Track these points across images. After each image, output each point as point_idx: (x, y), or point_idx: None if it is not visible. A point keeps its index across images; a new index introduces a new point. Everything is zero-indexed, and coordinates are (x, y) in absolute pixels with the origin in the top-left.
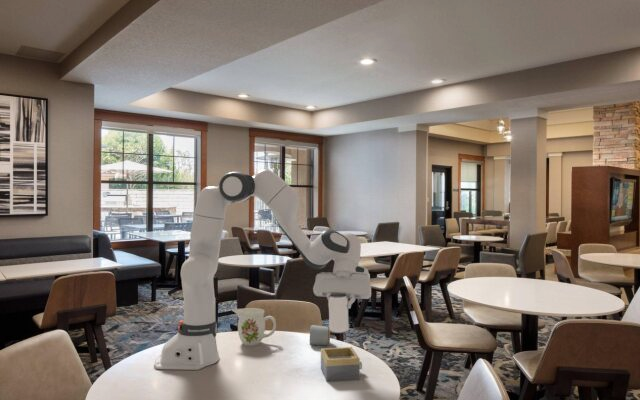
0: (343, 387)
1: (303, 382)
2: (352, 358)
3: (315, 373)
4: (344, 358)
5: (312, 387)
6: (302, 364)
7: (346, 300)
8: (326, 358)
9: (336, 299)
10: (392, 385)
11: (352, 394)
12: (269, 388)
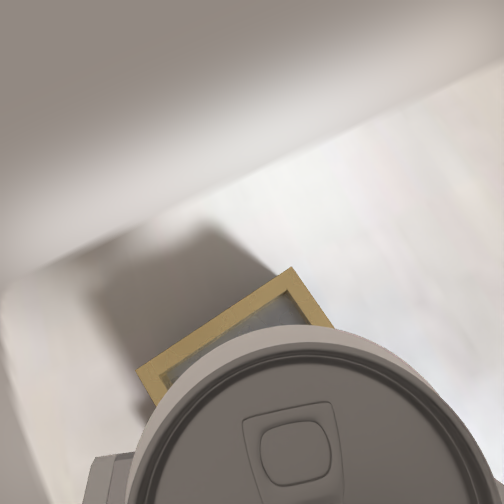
0: (201, 262)
1: (372, 236)
2: (171, 351)
3: None
4: (212, 330)
5: (316, 209)
6: (484, 425)
7: (128, 486)
8: (302, 288)
9: (275, 344)
10: (14, 368)
11: (148, 219)
12: (463, 133)
